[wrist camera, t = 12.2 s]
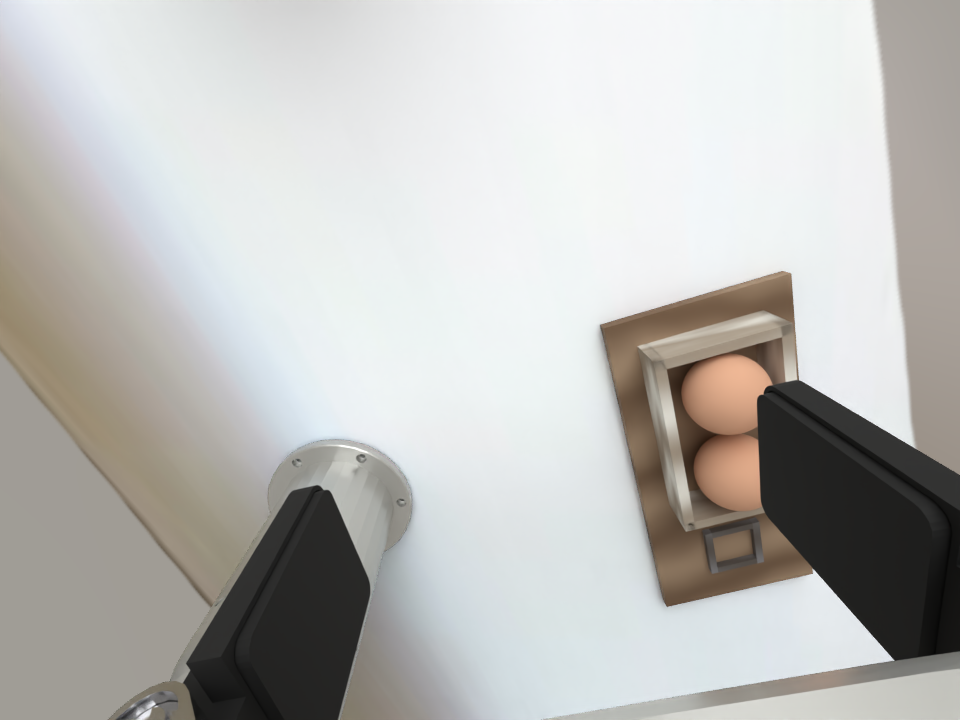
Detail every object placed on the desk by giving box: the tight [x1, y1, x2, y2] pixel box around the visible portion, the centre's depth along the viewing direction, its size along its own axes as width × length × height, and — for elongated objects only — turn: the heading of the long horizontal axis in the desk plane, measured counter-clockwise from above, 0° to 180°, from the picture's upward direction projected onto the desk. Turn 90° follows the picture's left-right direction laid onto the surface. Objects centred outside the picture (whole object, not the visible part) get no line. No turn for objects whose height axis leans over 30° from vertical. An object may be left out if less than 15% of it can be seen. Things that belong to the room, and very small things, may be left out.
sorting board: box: [601, 271, 813, 607], centre depth 38 cm, size 30×14×4 cm, turn 17°
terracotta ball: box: [694, 434, 762, 511], centre depth 36 cm, size 6×6×6 cm
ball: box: [681, 353, 773, 435], centre depth 34 cm, size 6×6×6 cm
